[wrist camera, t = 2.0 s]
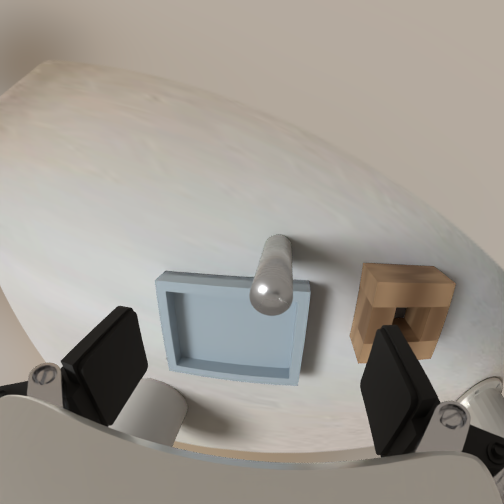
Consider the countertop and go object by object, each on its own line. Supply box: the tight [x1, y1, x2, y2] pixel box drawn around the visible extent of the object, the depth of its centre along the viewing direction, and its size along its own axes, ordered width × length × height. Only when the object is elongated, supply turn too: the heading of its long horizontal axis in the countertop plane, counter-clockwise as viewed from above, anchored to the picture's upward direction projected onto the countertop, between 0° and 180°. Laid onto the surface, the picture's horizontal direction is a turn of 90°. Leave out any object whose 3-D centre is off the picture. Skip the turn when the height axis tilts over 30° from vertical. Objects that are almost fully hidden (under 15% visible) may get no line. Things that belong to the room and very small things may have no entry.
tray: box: [155, 271, 311, 386], centre depth 26 cm, size 14×11×2 cm
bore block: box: [350, 263, 456, 363], centre depth 22 cm, size 8×8×5 cm
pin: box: [249, 234, 293, 316], centre depth 20 cm, size 2×2×10 cm
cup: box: [108, 378, 188, 447], centre depth 28 cm, size 8×8×10 cm
